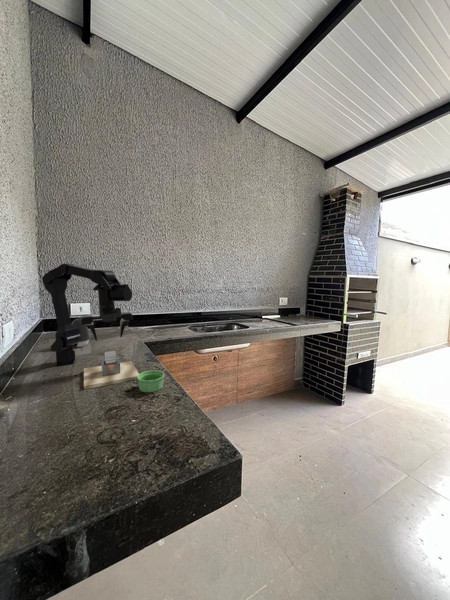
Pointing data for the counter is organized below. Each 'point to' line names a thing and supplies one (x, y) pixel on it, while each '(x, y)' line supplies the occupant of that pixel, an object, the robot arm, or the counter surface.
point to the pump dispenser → (81, 333)
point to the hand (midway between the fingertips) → (108, 338)
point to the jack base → (109, 374)
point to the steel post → (110, 357)
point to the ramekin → (150, 381)
